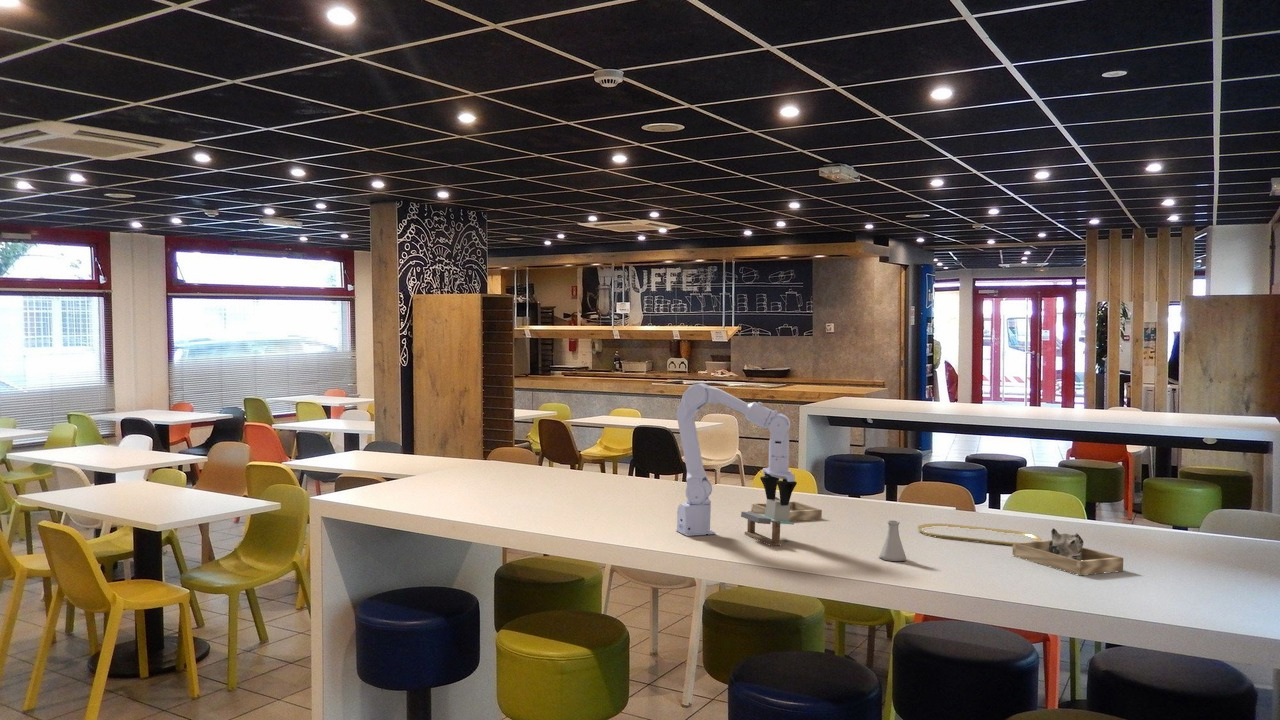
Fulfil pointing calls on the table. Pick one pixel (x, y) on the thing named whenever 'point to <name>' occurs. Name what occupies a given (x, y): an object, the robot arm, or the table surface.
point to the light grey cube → (777, 510)
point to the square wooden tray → (798, 511)
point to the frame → (773, 541)
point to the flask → (893, 544)
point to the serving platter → (975, 538)
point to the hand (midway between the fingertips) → (777, 503)
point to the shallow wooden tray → (1089, 565)
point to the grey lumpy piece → (1066, 545)
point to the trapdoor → (761, 518)
